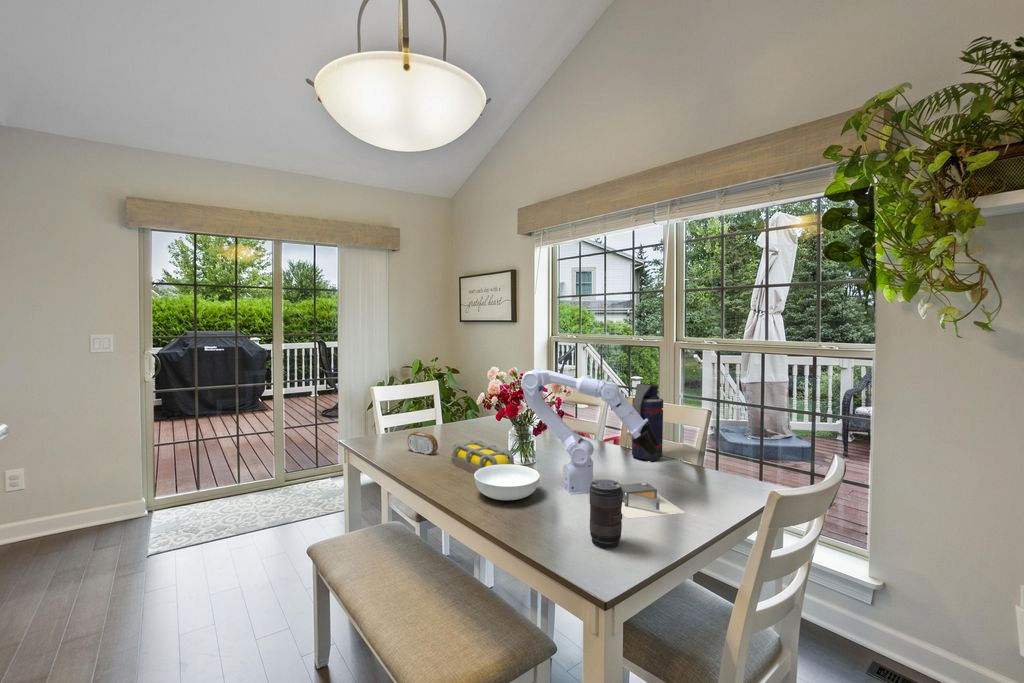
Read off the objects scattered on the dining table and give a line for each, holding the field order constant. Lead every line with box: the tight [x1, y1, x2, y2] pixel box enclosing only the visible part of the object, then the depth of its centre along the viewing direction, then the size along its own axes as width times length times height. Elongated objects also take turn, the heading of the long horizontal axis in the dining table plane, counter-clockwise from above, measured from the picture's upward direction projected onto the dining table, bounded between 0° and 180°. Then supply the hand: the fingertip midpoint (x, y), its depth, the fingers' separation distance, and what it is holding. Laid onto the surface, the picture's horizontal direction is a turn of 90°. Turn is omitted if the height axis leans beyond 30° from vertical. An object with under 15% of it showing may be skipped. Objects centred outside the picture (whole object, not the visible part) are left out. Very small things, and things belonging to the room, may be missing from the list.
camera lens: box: [589, 479, 623, 550], centre depth 120 cm, size 8×8×15 cm
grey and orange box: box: [621, 482, 658, 503], centre depth 148 cm, size 11×6×5 cm, turn 103°
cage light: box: [451, 439, 516, 475], centre depth 180 cm, size 15×8×30 cm
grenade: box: [631, 383, 664, 462], centre depth 192 cm, size 14×12×30 cm
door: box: [625, 493, 660, 512], centre depth 141 cm, size 10×1×4 cm, turn 58°
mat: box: [621, 493, 686, 519], centre depth 144 cm, size 18×16×1 cm
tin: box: [407, 431, 439, 455], centre depth 199 cm, size 15×3×8 cm, turn 58°
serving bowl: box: [473, 464, 541, 501], centre depth 153 cm, size 21×21×7 cm
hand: (655, 449), depth 150 cm, fingers open, 7 cm apart
